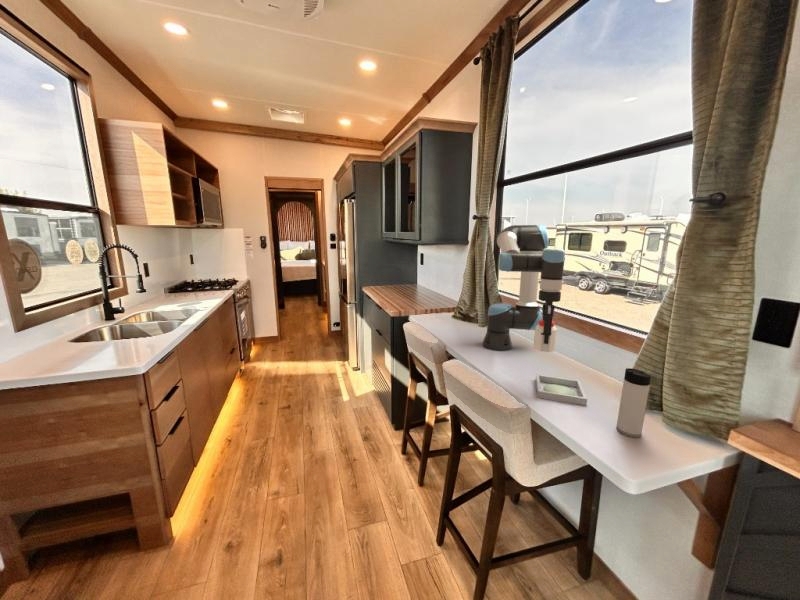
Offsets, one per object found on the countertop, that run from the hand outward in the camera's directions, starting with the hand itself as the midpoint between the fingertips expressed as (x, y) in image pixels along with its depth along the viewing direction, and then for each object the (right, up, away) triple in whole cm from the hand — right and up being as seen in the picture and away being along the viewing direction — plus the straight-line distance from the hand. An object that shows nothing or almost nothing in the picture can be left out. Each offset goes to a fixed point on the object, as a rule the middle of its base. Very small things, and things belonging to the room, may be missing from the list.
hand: (544, 348), depth 124 cm
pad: (+5, -17, -1) cm, 17 cm away
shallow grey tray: (+5, -17, -1) cm, 17 cm away
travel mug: (+14, -22, -26) cm, 37 cm away
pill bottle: (0, 0, 0) cm, 0 cm away
